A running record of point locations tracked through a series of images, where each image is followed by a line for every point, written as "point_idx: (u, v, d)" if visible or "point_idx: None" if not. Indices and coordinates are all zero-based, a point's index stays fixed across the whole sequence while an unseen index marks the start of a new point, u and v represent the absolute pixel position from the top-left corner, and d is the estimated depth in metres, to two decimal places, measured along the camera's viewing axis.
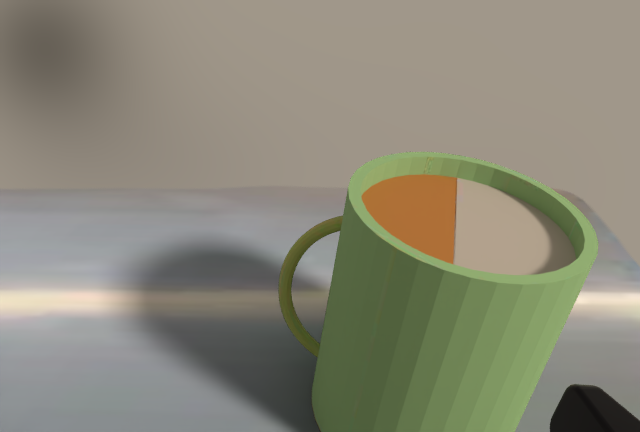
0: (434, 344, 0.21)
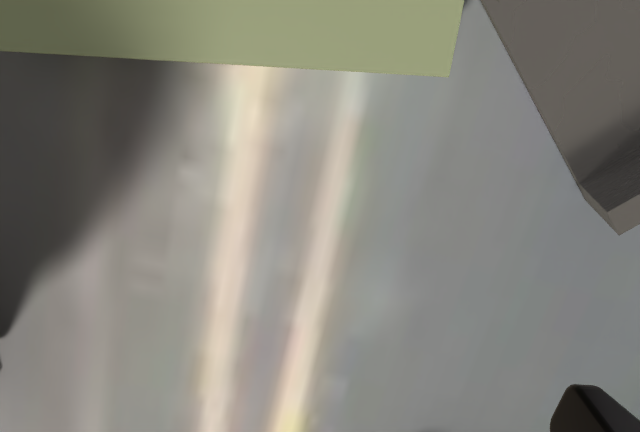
0: None
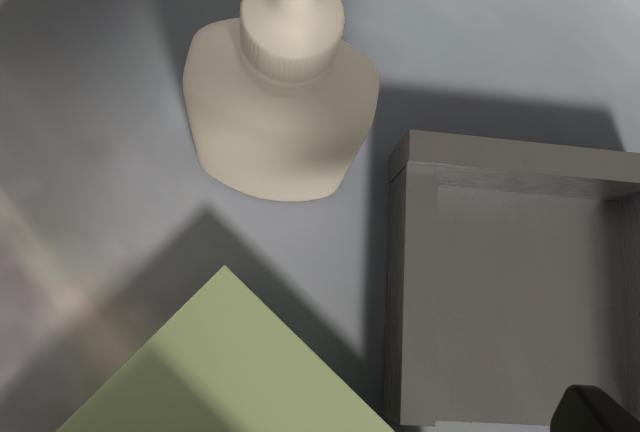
0: None
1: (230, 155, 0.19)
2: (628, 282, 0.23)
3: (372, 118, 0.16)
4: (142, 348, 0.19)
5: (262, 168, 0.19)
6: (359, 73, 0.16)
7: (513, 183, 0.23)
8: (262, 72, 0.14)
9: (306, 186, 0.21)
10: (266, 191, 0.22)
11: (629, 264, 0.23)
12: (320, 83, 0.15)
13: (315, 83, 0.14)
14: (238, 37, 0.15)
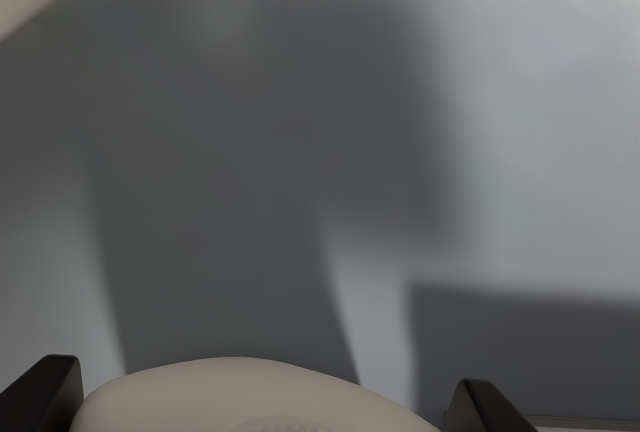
0: None
1: None
2: None
3: None
4: None
5: None
6: None
7: None
8: None
9: None
10: None
11: None
12: None
13: None
14: None
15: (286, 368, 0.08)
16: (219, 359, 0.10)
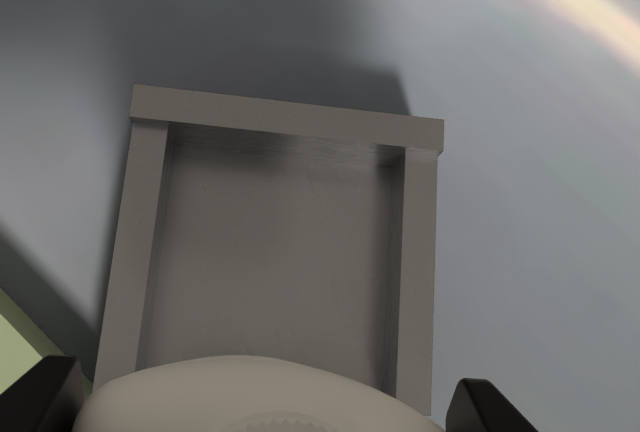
0: None
1: None
2: (390, 252, 0.22)
3: None
4: None
5: None
6: None
7: (264, 146, 0.22)
8: None
9: None
10: None
11: (392, 233, 0.22)
12: None
13: None
14: None
15: (284, 365, 0.08)
16: (219, 357, 0.10)
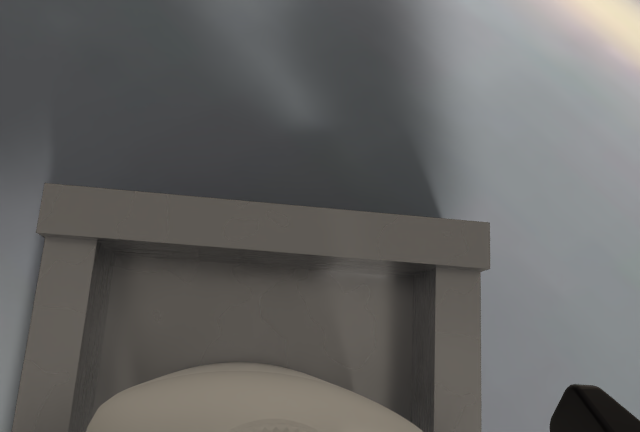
0: None
1: None
2: (414, 401, 0.16)
3: None
4: None
5: None
6: None
7: (238, 258, 0.15)
8: None
9: None
10: None
11: (416, 374, 0.16)
12: None
13: None
14: None
15: (275, 375, 0.09)
16: (215, 368, 0.11)
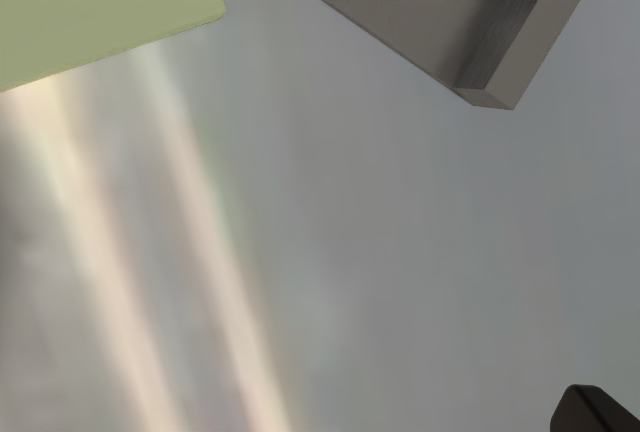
0: None
1: None
2: None
3: None
4: None
5: None
6: None
7: None
8: None
9: None
10: None
11: None
12: None
13: None
14: None
15: None
16: None
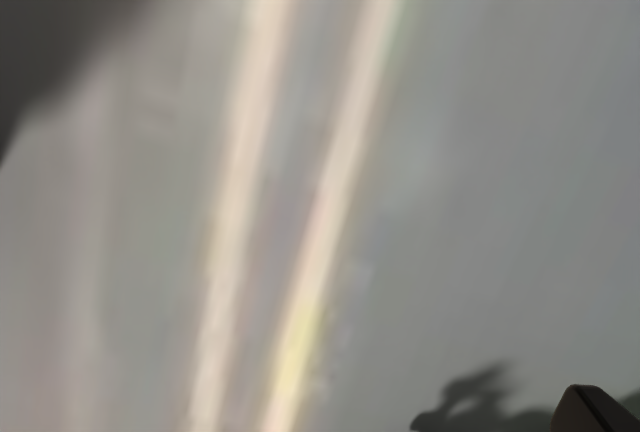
0: None
1: None
2: None
3: None
4: None
5: None
6: None
7: None
8: None
9: None
10: None
11: None
12: None
13: None
14: None
15: None
16: None
